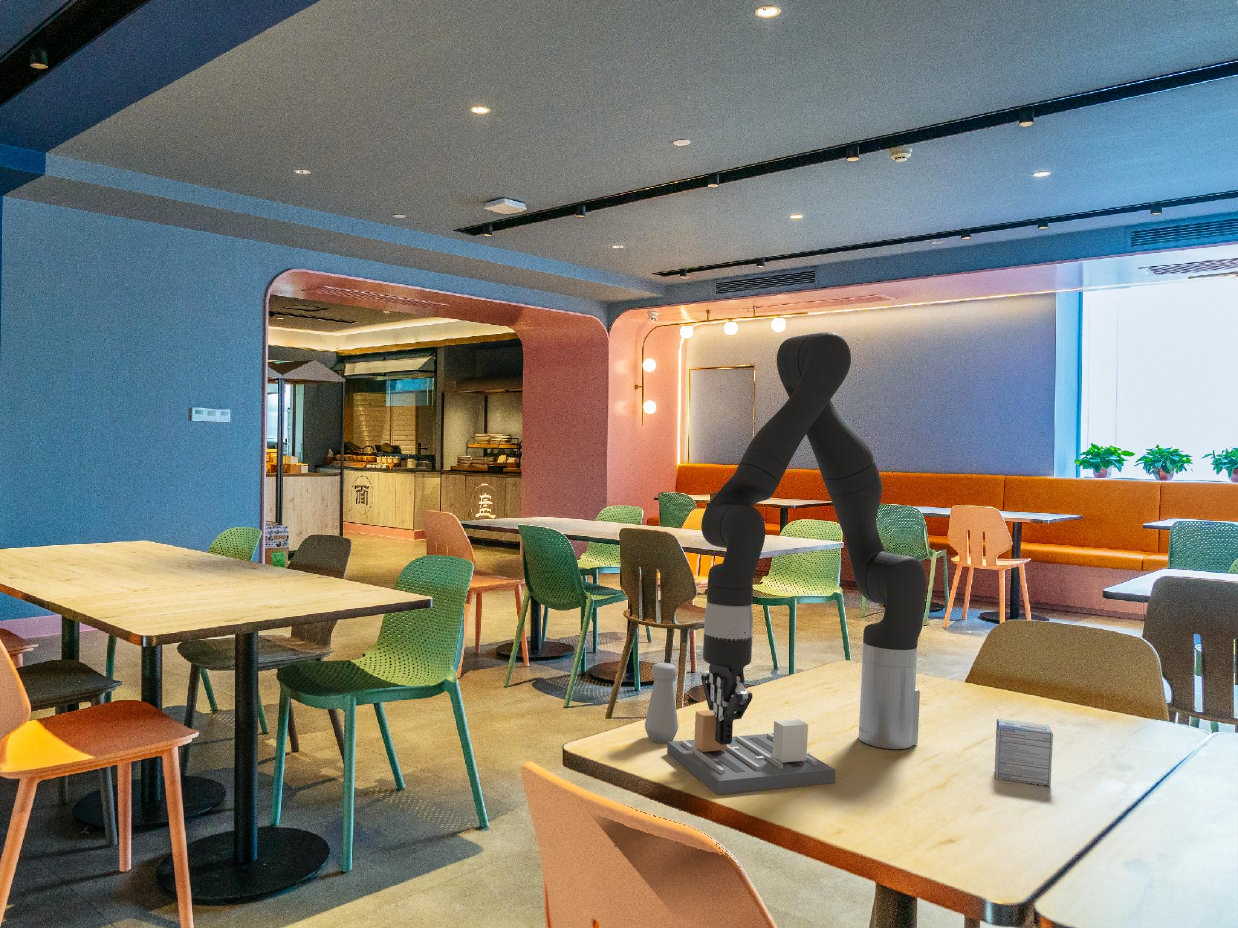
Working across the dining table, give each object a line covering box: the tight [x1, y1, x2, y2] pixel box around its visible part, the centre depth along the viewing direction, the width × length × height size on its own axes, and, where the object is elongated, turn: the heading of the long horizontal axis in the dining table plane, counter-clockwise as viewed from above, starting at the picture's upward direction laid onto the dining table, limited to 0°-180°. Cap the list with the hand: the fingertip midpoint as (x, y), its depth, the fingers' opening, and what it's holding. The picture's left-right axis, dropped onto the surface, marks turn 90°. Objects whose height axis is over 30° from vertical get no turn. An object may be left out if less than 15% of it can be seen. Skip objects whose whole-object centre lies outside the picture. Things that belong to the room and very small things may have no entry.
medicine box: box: [994, 718, 1054, 787], centre depth 140 cm, size 8×4×9 cm, turn 71°
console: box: [666, 732, 836, 796], centre depth 139 cm, size 20×18×3 cm
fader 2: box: [772, 718, 809, 763], centre depth 137 cm, size 4×3×6 cm, turn 111°
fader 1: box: [693, 709, 727, 752], centre depth 140 cm, size 4×3×6 cm, turn 111°
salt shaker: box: [644, 662, 680, 744], centre depth 151 cm, size 6×6×13 cm
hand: (723, 742), depth 137 cm, fingers closed
